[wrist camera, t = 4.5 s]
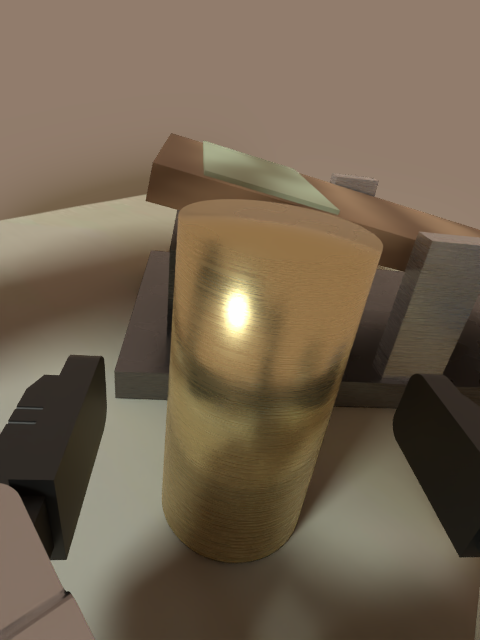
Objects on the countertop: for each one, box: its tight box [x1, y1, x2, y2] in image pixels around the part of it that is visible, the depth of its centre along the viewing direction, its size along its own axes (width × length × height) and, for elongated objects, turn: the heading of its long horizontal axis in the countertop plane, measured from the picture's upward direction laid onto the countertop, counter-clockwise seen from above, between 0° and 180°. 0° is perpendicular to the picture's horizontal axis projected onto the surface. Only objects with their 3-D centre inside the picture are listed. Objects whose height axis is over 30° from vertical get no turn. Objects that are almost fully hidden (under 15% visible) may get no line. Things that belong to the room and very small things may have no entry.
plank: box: [146, 133, 480, 272], centre depth 23 cm, size 26×11×2 cm, turn 94°
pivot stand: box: [115, 173, 480, 408], centre depth 25 cm, size 28×15×8 cm, turn 95°
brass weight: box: [162, 199, 383, 563], centre depth 12 cm, size 5×5×10 cm
